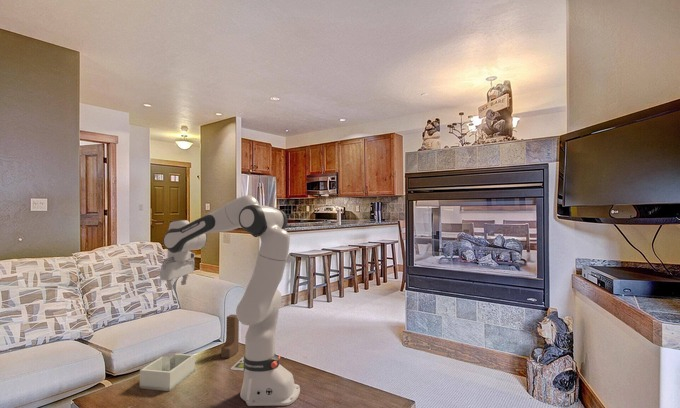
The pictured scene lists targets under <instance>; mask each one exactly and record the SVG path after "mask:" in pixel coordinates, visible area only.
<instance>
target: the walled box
mask: <svg viewBox="0 0 680 408" xmlns="http://www.w3.org/2000/svg"><path fill="white" fill-rule="evenodd" d="M195 372H196V354H189V353H188V354H187V353H186V354H185V353H175V368H174V369H172V370H171V371H162V356H161V357H159V358H158V359H156V360H154V361H152V362H151V363H149V364H148V365H146V366H144V367H142V368H140V370H139V389H145V390H153V391H155V390H156V391H164V392H171V390H173V389H174V388H175V387H177V386H178V385H179V384H181V383H182V382H183V381H185V380H186V379H187V378H189V376H191V375H192V374H194V373H195Z"/></svg>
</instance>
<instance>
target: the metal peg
mask: <svg viewBox="0 0 680 408" xmlns="http://www.w3.org/2000/svg"><path fill="white" fill-rule="evenodd" d="M175 354H176V353H172V352H166V353H165V354H164V355H162V356H161V357H162V371H171V370H172V369H174V368H175Z"/></svg>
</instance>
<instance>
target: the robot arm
mask: <svg viewBox="0 0 680 408" xmlns="http://www.w3.org/2000/svg"><path fill="white" fill-rule="evenodd" d="M287 226H288V216H287V214H286V213H285V212H284V210H282V209H280V208H278V207H272V206H269V205H262V204H260V203H259V201H258V199H256V198H255V197H254V196H252V195H251V194H250V195H249V194H246V195H243V196H239V197H237V198H235V199H232V200H231V201H229V202H227V203H226V204H224V205H222V206H221V207H219V208H218V209H215V210H214V211H212V212H210V213H208V214H206V215H204V216H202V217H200V218H197V219H195V220H194V221H191V222H190V221H189V220H187V219H177V220H173V221H171V222H170V223H169V227H168V230H167V231H166V232H165V235H164V236H163V245H164V248H165V249H166V250H167V256H166V257H167V258H165V259H164V260H163V262H162V263H161V267H160V274H159V278H160V280H161V281H166V283H167V290H173V289H175V285H174V284H173V281H174V280H175V279H177V278H181V277H182V279H181V281H180V285H182V286H185V285H186V284H187V282H188V281H187V280H188V278H189V275H190V274H193V273H194V271H195V257H196V253H194V252H192V251H196V250H200V249H203V248H204V247H205V246H206V244H207V241H208V237H207V234H211V233H222V232H223V233H224V232H230V231H233V230H236V229H239V228H241V229H243V231H245V232H247V233H249V234H250V235H252V237H254V238H259V239H260V246H259V250H258V253H257V257H256V262H255V265H254V269H253V273H252V276H251V277H250V280H249V282H248V284H247V286H246V288H245V291H244V294H243V296H242V297H241V300H240V301H239V303H238V304H237V306H236V311H235V313H236V314H235V315H237V318H238V320H239V323H240V324H242V325H244V326H248V328H247V331H246V333H245V337H244V338H245V341H244V343H245V346H244V347H245V349H244V355H243V356H244V371H243V373H244V374H243V381H242V385H241V386H242V387H241V389H240V393H239V397H240V398H241V399H242V400H243V402H244V401H245V403H246V405H247V406H248V407H256V406H257V407H260V406H261V407H263V406H264V407H265V406H266V407H269V406H272V407H273V406H274V407H275V406H289V405H291V404H293V403H294V402H295V401H296V400H297V399H298V397H299V395H300V393H301V387H300V385H299V384H297V383H295V379H294V376H293V373H292V372H290V370H287V369H286V368H285V367H284V366H282V364H280V359H281V355H278V356H277V355H276V353H275V347H276V346H275V344H276V338H275V337H276V329H277V323H278V318H279V310H280V306H281V304H282V298H283V296H282V293H281V292H280V290H279V289H278V288H279V285H280V284H281V282H282V280H283V276H284V272H285V269H286V266H287V265H286V264H287V260H288V256H289V250H290V244H291V243H290V241H291V240H290V239H291V238H290V234H289V232H288V231H287V230H285V229H286V228H287Z"/></svg>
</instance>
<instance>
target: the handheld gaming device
mask: <svg viewBox="0 0 680 408" xmlns="http://www.w3.org/2000/svg"><path fill="white" fill-rule="evenodd" d="M244 356H245V355H243V356H242V357H241V358H240V359H239V360H238V361H237V362H236V363H234V364H233V365H232V366H231V368H230V371H237V372H238V371H241V372H244Z"/></svg>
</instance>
